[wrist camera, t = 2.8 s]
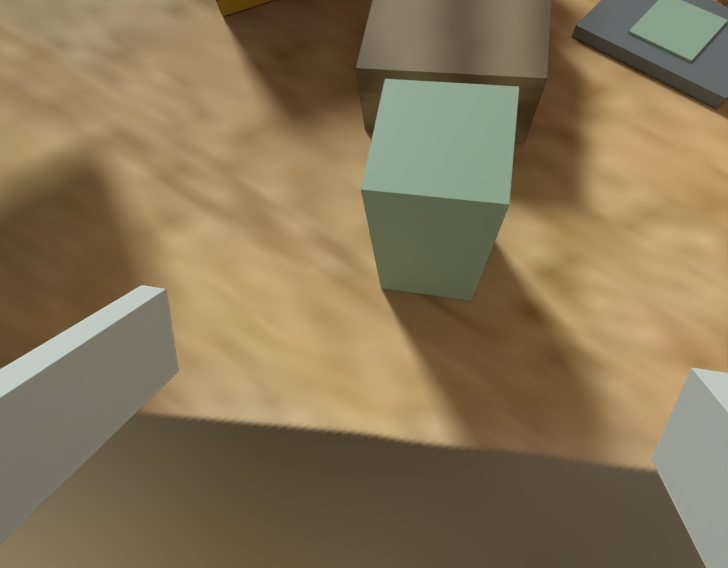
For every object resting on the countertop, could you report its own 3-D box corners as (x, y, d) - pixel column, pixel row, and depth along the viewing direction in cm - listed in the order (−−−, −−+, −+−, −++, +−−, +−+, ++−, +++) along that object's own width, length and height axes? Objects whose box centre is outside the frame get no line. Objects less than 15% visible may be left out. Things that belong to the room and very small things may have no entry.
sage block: (381, 288, 29) (360, 189, 18) (395, 210, 31) (384, 78, 20) (471, 300, 28) (509, 204, 17) (480, 220, 30) (519, 86, 19)
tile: (571, 36, 35) (577, 22, 34) (628, -20, 37) (635, -35, 36) (717, 108, 31) (728, 96, 30) (773, 42, 33) (786, 28, 32)
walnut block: (365, 130, 34) (355, 68, 28) (390, 19, 38) (386, -55, 32) (524, 142, 32) (547, 78, 26) (532, 24, 36) (554, -54, 30)
